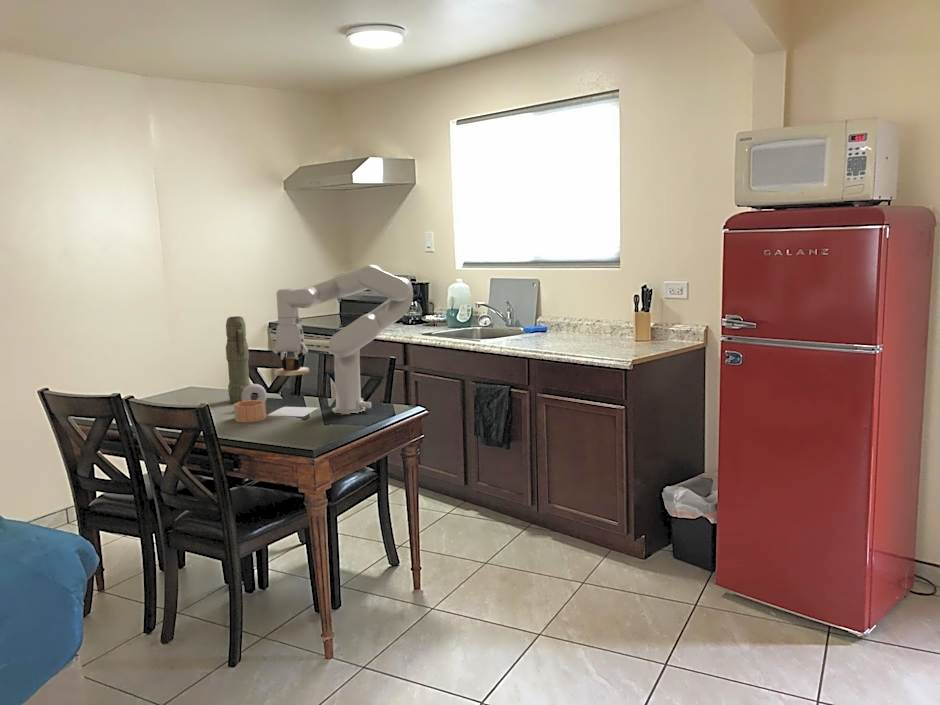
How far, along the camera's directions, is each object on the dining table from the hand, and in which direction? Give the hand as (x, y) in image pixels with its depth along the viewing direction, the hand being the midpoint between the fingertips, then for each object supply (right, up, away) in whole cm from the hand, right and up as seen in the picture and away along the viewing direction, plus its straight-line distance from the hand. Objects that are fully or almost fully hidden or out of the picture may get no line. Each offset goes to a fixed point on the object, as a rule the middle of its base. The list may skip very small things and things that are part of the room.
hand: (291, 369), depth 282 cm
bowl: (-13, -18, -8) cm, 24 cm away
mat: (0, -17, +2) cm, 17 cm away
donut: (-17, -16, +10) cm, 25 cm away
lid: (0, -2, 0) cm, 1 cm away
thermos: (-27, -14, +25) cm, 39 cm away
